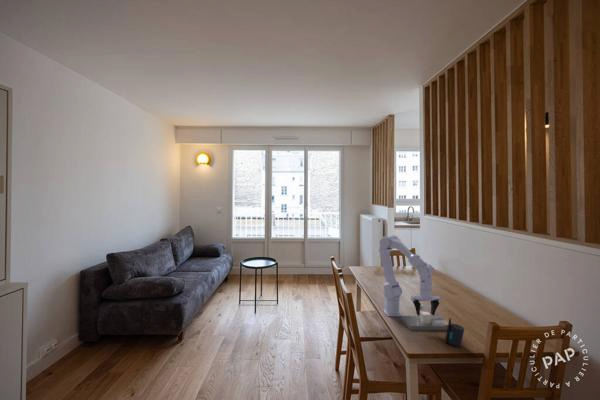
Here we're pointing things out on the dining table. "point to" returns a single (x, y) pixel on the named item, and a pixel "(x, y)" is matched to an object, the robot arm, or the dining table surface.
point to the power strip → (415, 324)
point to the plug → (425, 318)
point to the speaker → (454, 334)
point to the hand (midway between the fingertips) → (425, 314)
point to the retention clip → (424, 307)
